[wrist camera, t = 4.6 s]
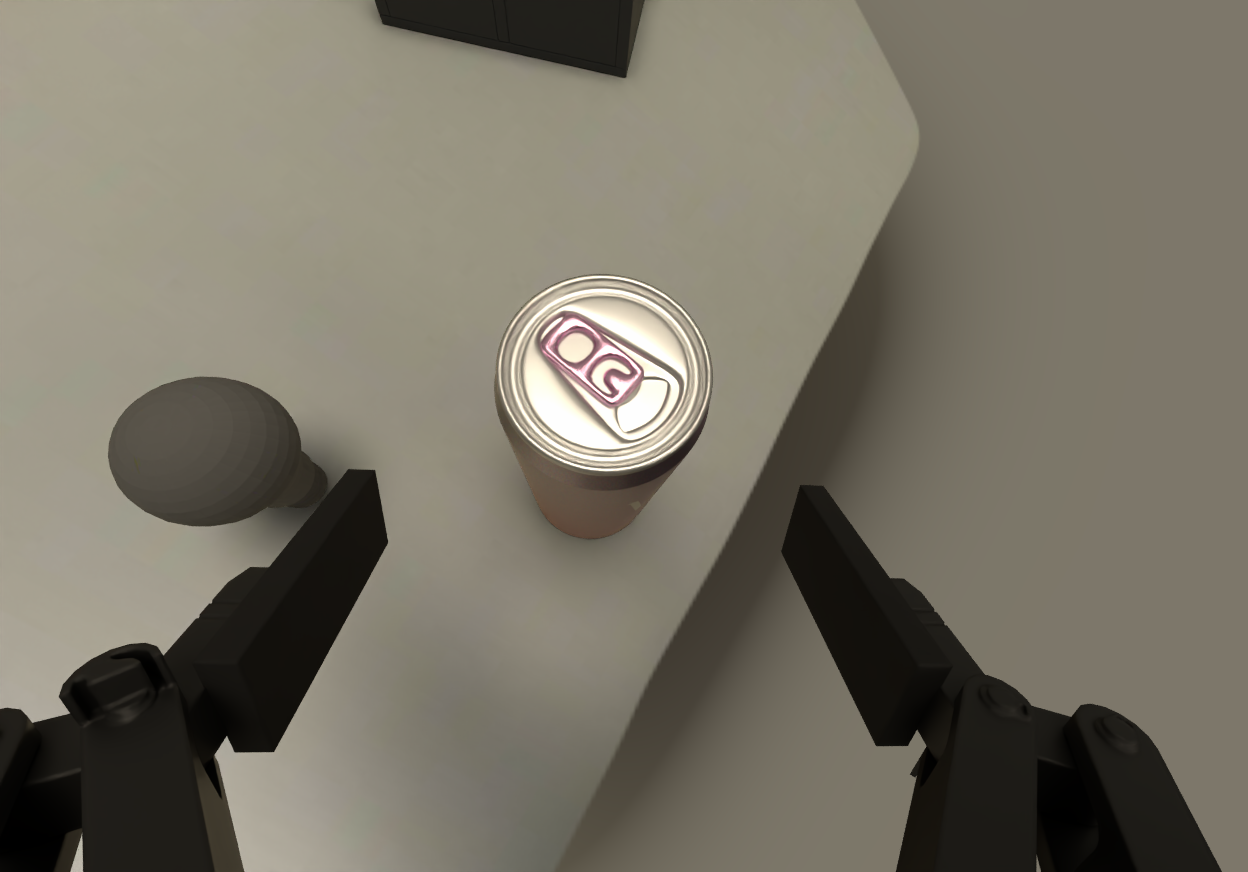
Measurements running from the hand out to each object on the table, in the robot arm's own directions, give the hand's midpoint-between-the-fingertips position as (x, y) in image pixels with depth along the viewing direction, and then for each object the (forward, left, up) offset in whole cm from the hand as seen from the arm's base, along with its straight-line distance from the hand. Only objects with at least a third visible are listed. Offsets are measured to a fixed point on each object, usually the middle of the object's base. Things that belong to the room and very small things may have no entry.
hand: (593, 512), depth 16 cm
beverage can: (0, -3, -11) cm, 11 cm away
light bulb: (+14, 0, -11) cm, 18 cm away
